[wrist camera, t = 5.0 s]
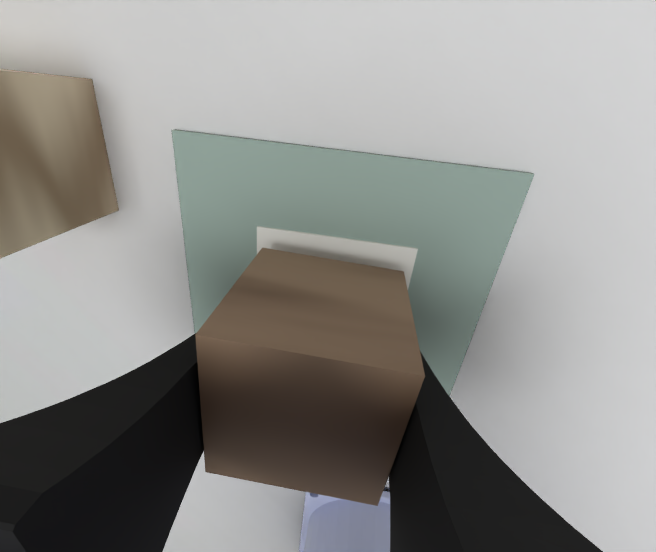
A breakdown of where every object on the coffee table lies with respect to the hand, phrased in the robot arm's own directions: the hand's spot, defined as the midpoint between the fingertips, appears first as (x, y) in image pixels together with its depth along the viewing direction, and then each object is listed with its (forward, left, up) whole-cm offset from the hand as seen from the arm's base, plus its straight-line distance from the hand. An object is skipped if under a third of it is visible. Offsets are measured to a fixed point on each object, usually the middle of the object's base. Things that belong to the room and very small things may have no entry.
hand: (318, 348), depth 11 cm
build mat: (0, 0, -3) cm, 3 cm away
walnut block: (0, 0, -2) cm, 2 cm away
